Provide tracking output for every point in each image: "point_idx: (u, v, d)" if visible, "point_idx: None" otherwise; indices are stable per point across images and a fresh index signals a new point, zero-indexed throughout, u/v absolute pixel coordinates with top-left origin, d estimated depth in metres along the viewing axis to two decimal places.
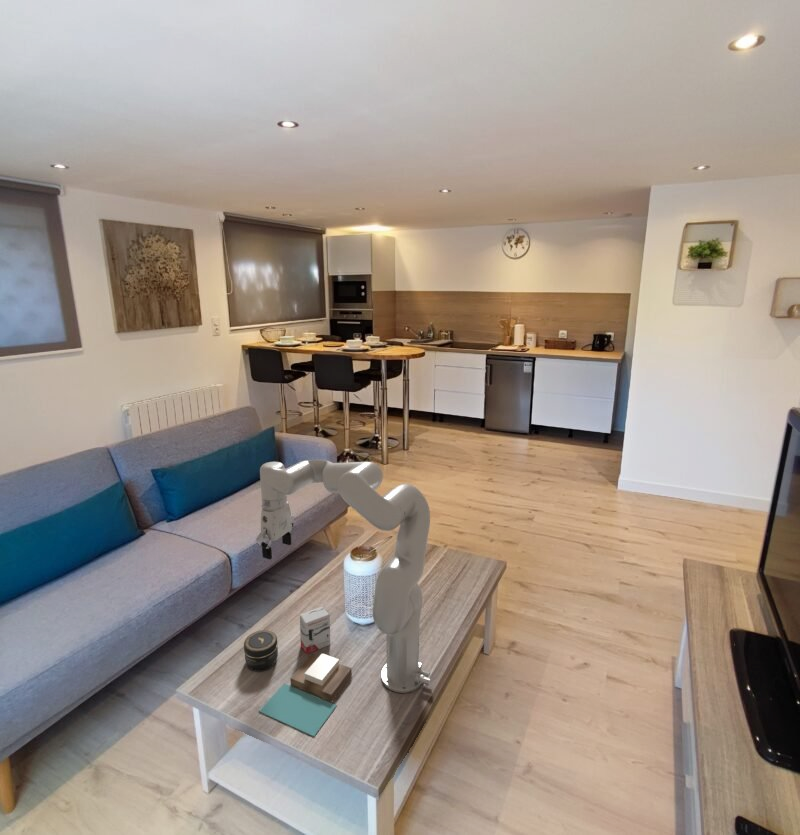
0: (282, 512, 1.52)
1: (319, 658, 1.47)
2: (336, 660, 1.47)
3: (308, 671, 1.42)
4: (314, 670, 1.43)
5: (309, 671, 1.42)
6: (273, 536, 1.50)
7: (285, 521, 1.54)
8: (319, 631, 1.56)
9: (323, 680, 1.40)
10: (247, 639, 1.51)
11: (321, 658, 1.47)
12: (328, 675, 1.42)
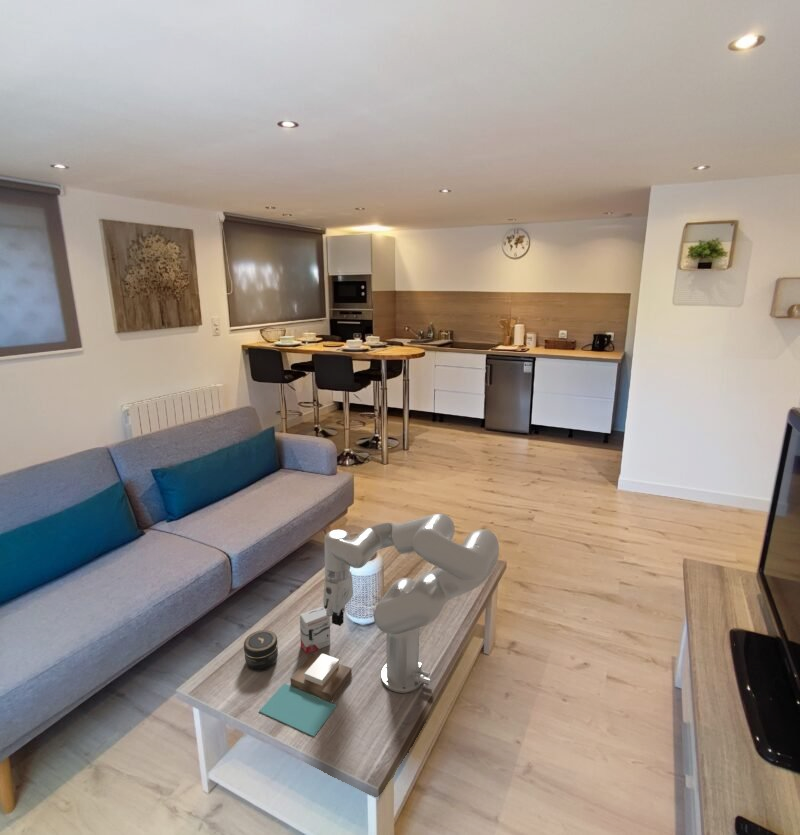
0: (345, 582, 1.46)
1: (319, 658, 1.47)
2: (336, 660, 1.47)
3: (308, 671, 1.42)
4: (314, 670, 1.43)
5: (309, 671, 1.42)
6: (337, 608, 1.44)
7: (347, 590, 1.48)
8: (319, 631, 1.56)
9: (323, 680, 1.40)
10: (247, 639, 1.51)
11: (321, 658, 1.47)
12: (328, 675, 1.42)
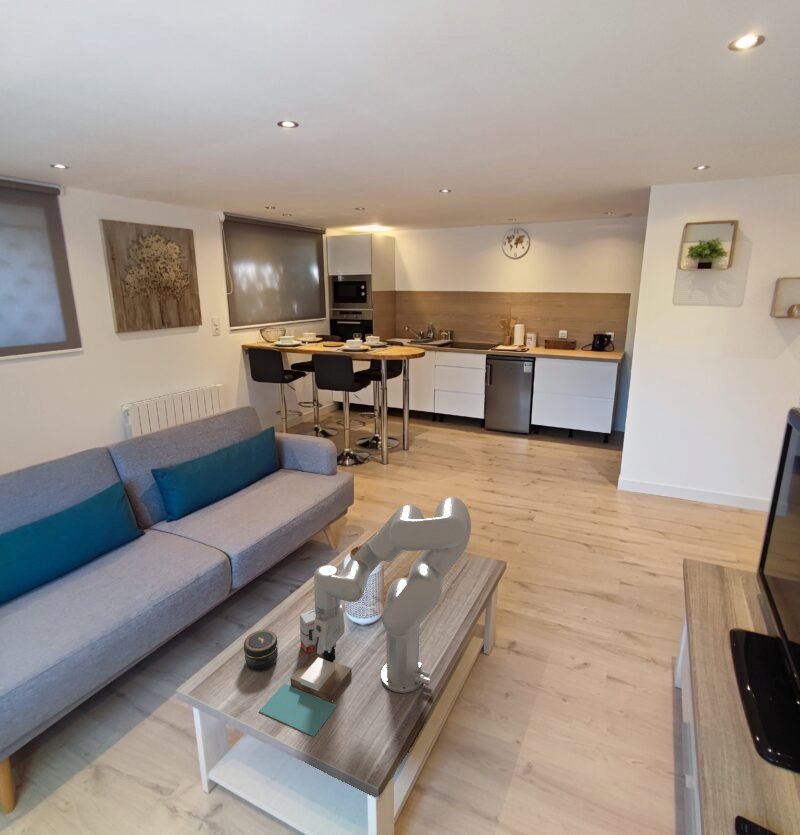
0: (336, 619, 1.43)
1: (315, 663, 1.46)
2: (332, 664, 1.45)
3: (304, 675, 1.41)
4: (310, 675, 1.41)
5: (305, 676, 1.41)
6: (327, 646, 1.41)
7: (338, 627, 1.45)
8: None
9: (319, 685, 1.38)
10: (247, 639, 1.51)
11: (317, 662, 1.46)
12: (324, 680, 1.41)
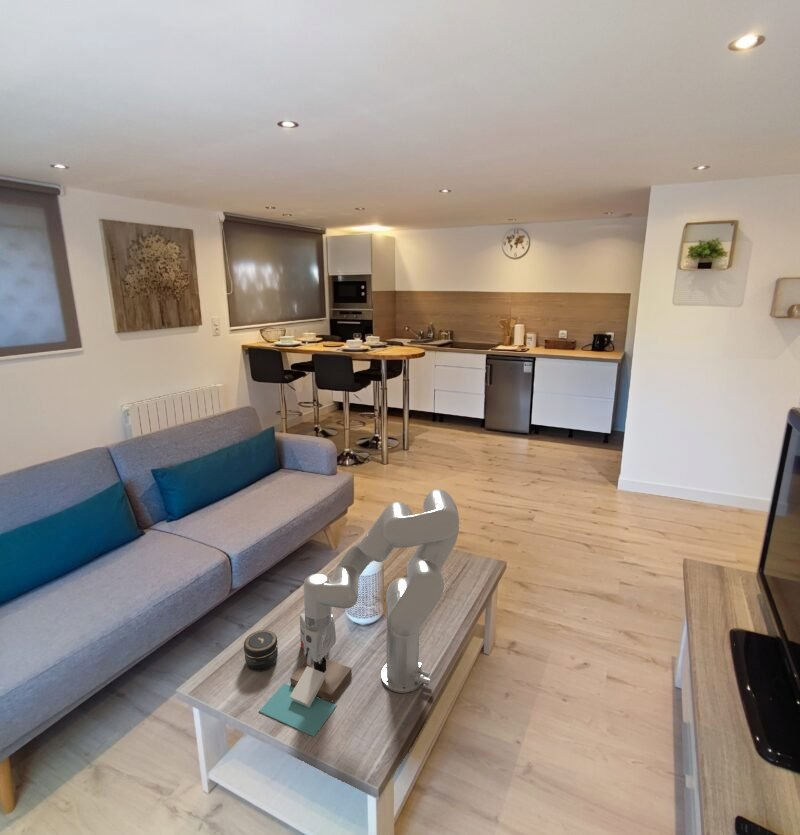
0: (326, 629, 1.39)
1: (304, 674, 1.41)
2: (321, 674, 1.40)
3: (293, 693, 1.37)
4: (300, 691, 1.37)
5: (294, 693, 1.37)
6: (317, 657, 1.37)
7: (329, 637, 1.41)
8: None
9: (309, 702, 1.35)
10: (247, 639, 1.51)
11: (306, 673, 1.41)
12: (314, 694, 1.37)
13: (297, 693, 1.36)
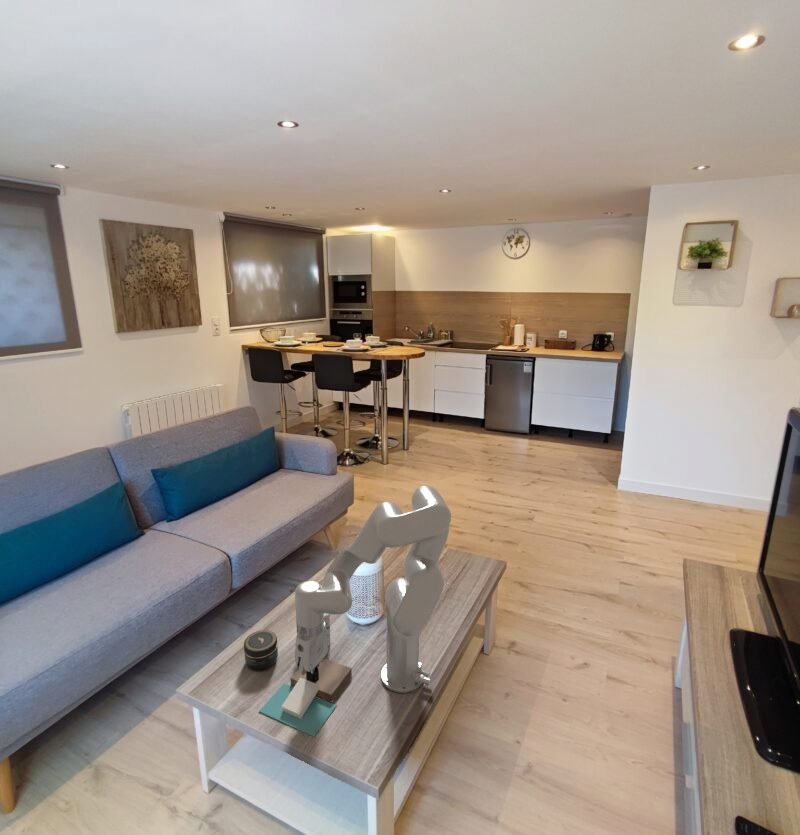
0: (319, 637, 1.35)
1: (297, 685, 1.38)
2: (315, 686, 1.37)
3: (285, 703, 1.34)
4: (292, 702, 1.34)
5: (286, 703, 1.34)
6: (309, 667, 1.33)
7: (322, 646, 1.38)
8: None
9: (301, 713, 1.31)
10: (247, 639, 1.51)
11: (299, 684, 1.38)
12: (307, 705, 1.34)
13: (289, 703, 1.34)
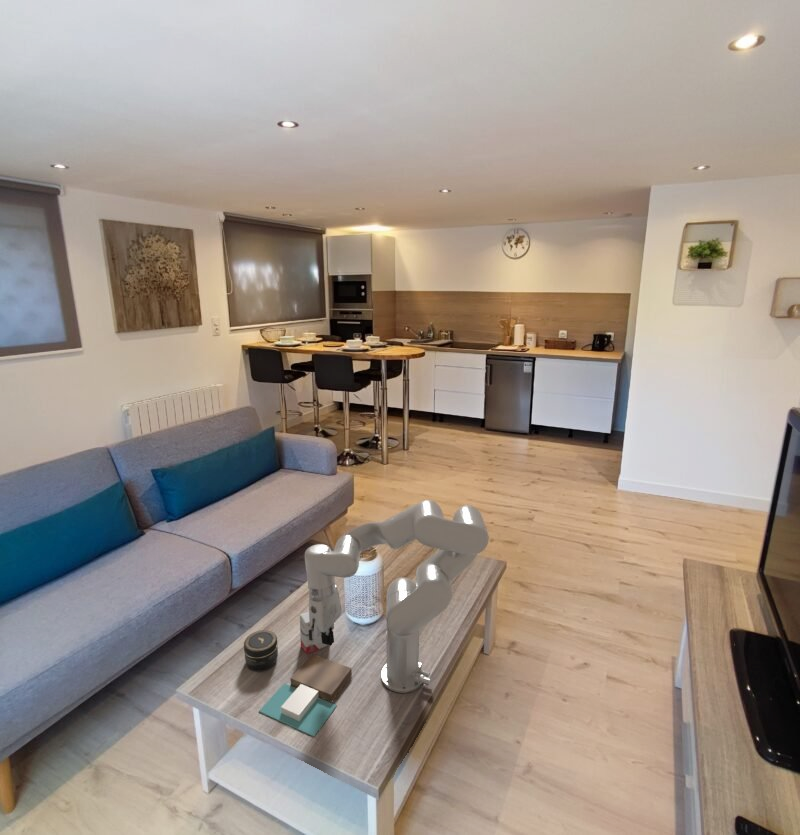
0: (331, 599, 1.38)
1: (297, 690, 1.38)
2: (315, 692, 1.38)
3: (285, 704, 1.34)
4: (292, 704, 1.34)
5: (286, 704, 1.33)
6: (324, 627, 1.36)
7: (335, 607, 1.40)
8: None
9: (300, 715, 1.31)
10: (247, 639, 1.51)
11: (299, 689, 1.39)
12: (306, 709, 1.33)
13: (289, 705, 1.33)
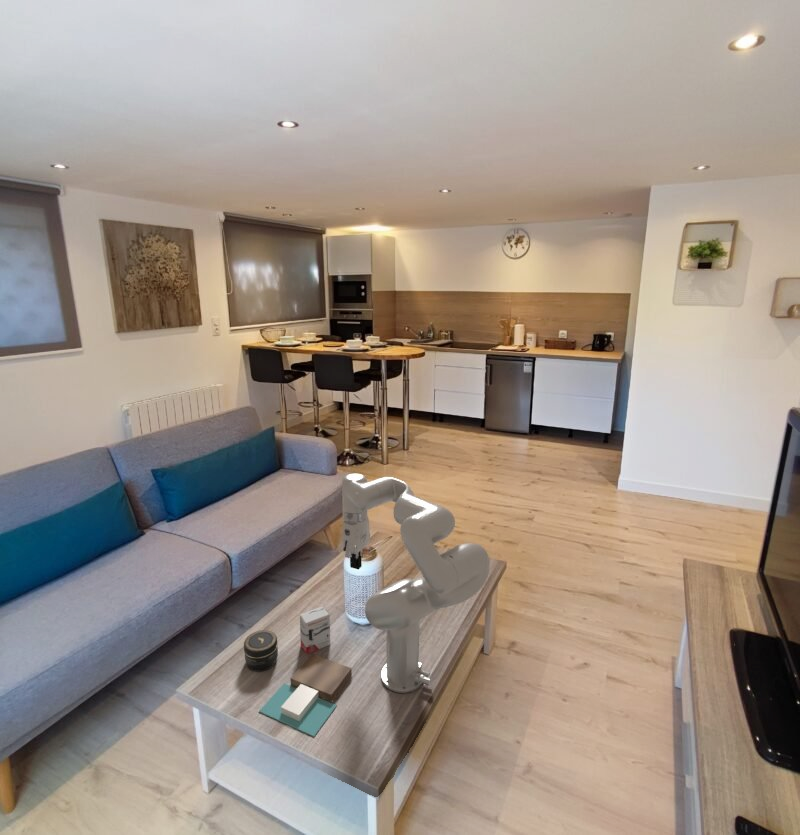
0: (363, 524, 1.50)
1: (297, 690, 1.38)
2: (315, 692, 1.38)
3: (285, 704, 1.34)
4: (292, 704, 1.34)
5: (286, 704, 1.33)
6: (355, 549, 1.47)
7: (365, 533, 1.52)
8: (319, 631, 1.56)
9: (300, 715, 1.31)
10: (247, 639, 1.51)
11: (299, 689, 1.39)
12: (306, 709, 1.33)
13: (289, 705, 1.33)
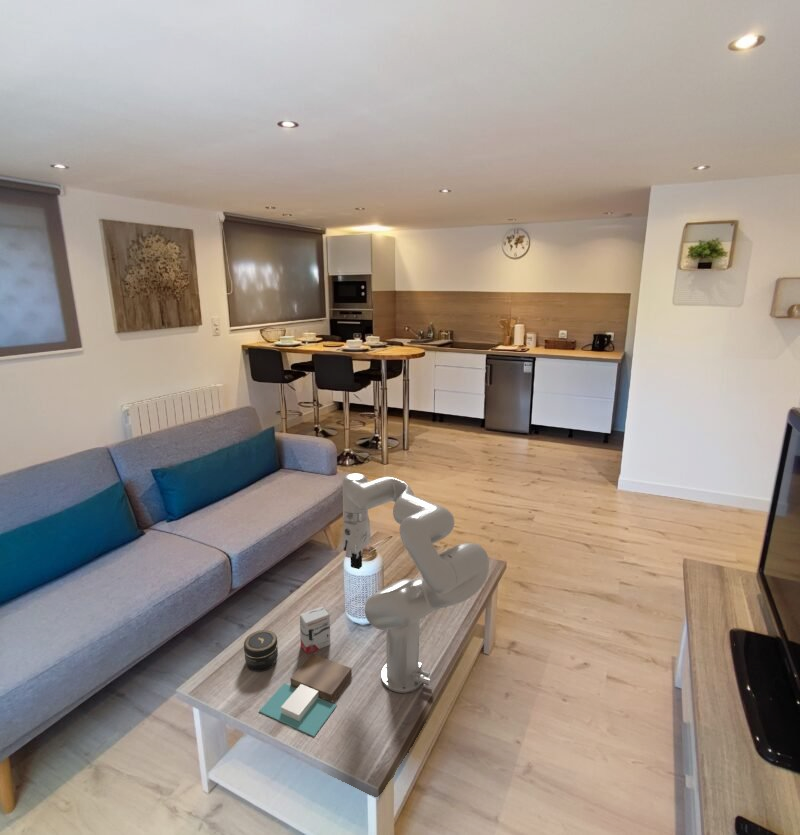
0: (363, 524, 1.50)
1: (297, 690, 1.38)
2: (315, 692, 1.38)
3: (285, 704, 1.34)
4: (292, 704, 1.34)
5: (286, 704, 1.33)
6: (356, 549, 1.48)
7: (365, 533, 1.52)
8: (319, 631, 1.56)
9: (300, 715, 1.31)
10: (247, 639, 1.51)
11: (299, 689, 1.39)
12: (306, 709, 1.33)
13: (289, 705, 1.33)
